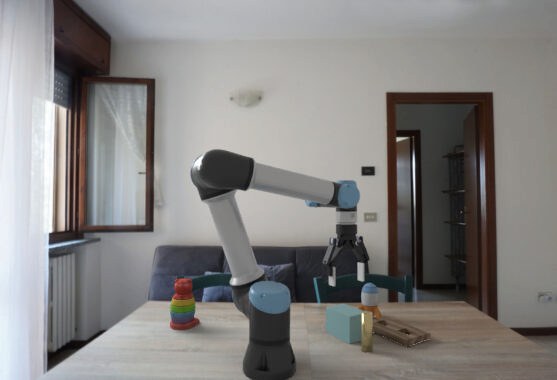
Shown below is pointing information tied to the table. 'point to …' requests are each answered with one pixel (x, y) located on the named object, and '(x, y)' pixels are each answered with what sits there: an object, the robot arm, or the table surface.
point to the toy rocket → (370, 299)
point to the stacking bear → (183, 306)
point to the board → (399, 331)
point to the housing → (344, 322)
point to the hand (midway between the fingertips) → (346, 283)
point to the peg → (366, 331)
